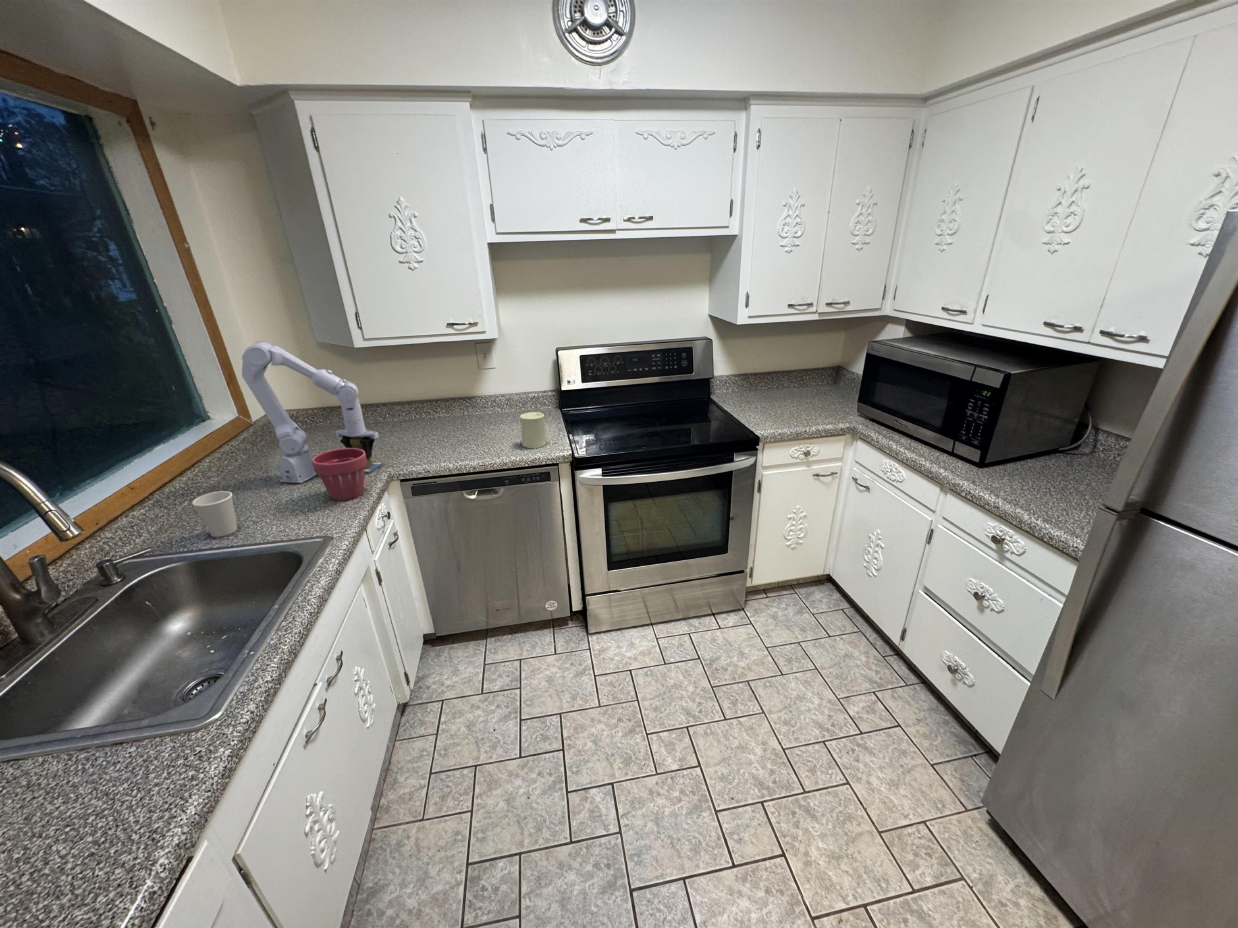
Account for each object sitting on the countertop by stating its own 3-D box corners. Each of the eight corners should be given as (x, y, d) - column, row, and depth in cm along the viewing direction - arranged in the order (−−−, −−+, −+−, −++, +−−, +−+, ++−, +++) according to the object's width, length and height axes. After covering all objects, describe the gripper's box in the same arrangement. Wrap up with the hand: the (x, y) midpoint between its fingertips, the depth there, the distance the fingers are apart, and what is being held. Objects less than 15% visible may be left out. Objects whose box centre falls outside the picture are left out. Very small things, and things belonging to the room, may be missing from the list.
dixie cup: (237, 520, 140) (226, 488, 136) (247, 530, 135) (236, 496, 131) (200, 532, 134) (188, 498, 130) (209, 542, 129) (196, 508, 125)
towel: (369, 473, 170) (368, 471, 170) (345, 471, 171) (344, 470, 171) (382, 464, 177) (382, 462, 177) (359, 463, 179) (359, 461, 178)
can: (548, 446, 193) (546, 416, 188) (524, 449, 190) (522, 419, 185) (543, 438, 201) (541, 409, 196) (520, 441, 198) (517, 412, 193)
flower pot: (376, 482, 163) (369, 445, 158) (368, 500, 150) (360, 461, 146) (328, 487, 160) (318, 449, 155) (315, 506, 147) (305, 466, 142)
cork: (365, 470, 171) (359, 439, 167) (350, 468, 172) (343, 438, 168) (377, 463, 176) (371, 433, 172) (362, 462, 177) (355, 432, 173)
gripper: (380, 416, 170) (388, 454, 175) (341, 415, 172) (350, 452, 177) (367, 422, 164) (375, 461, 169) (327, 421, 166) (337, 459, 171)
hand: (362, 457), depth 173 cm, fingers closed on cork, 5 cm apart
